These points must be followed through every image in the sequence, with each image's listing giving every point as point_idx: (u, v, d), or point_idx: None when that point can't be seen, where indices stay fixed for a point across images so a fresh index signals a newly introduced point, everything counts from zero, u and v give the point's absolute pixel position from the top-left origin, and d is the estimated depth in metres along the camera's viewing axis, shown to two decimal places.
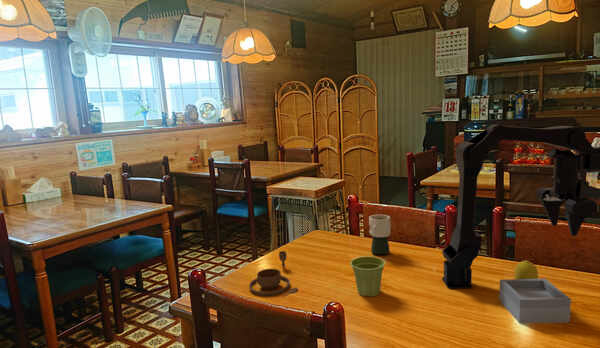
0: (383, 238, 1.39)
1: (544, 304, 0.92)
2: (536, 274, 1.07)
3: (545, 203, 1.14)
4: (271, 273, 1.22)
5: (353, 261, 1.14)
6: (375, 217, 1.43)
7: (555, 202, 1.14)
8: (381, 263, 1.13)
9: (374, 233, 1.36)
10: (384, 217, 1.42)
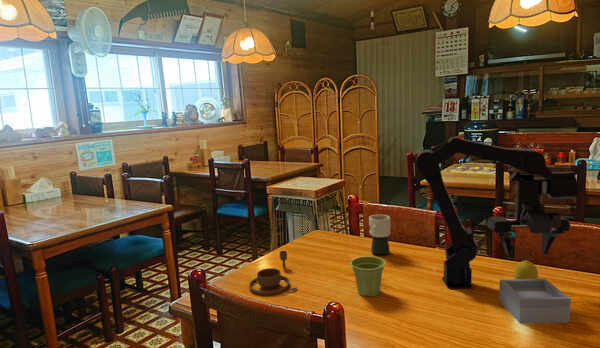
0: (383, 238, 1.39)
1: (544, 304, 0.92)
2: (536, 274, 1.07)
3: None
4: (271, 273, 1.23)
5: (353, 261, 1.14)
6: (375, 217, 1.43)
7: None
8: (381, 263, 1.13)
9: (374, 233, 1.36)
10: (384, 217, 1.42)
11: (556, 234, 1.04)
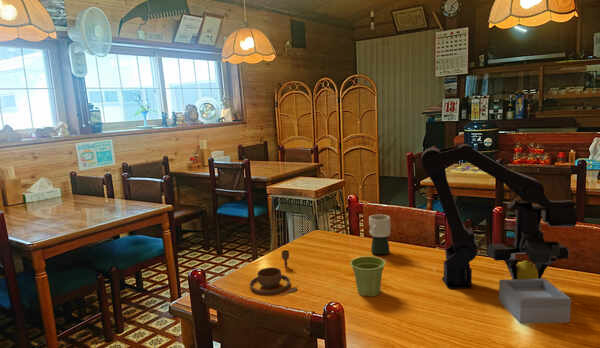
0: (383, 238, 1.39)
1: (544, 304, 0.92)
2: (536, 274, 1.07)
3: None
4: (272, 272, 1.23)
5: (353, 261, 1.14)
6: (375, 217, 1.43)
7: None
8: (381, 263, 1.13)
9: (374, 233, 1.36)
10: (384, 217, 1.42)
11: (548, 262, 1.05)
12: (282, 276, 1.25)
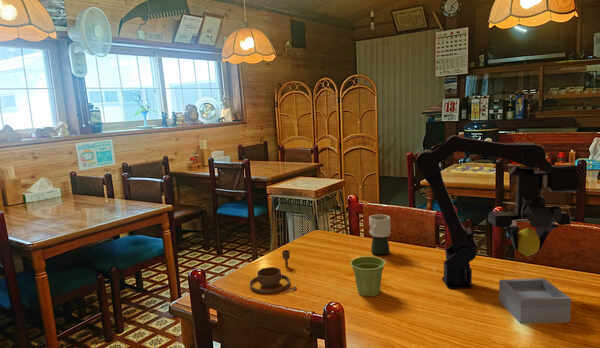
0: (383, 238, 1.39)
1: (545, 304, 0.92)
2: (538, 241, 1.05)
3: None
4: (272, 271, 1.24)
5: (353, 261, 1.14)
6: (375, 217, 1.43)
7: None
8: (381, 263, 1.13)
9: (374, 233, 1.36)
10: (384, 217, 1.42)
11: (550, 228, 1.04)
12: (282, 276, 1.25)
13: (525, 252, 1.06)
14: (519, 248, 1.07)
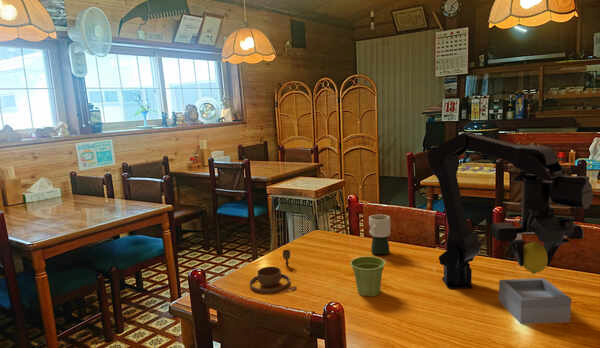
0: (383, 238, 1.39)
1: (545, 304, 0.92)
2: (545, 257, 0.94)
3: None
4: (272, 271, 1.24)
5: (353, 261, 1.14)
6: (375, 217, 1.43)
7: None
8: (381, 263, 1.13)
9: (374, 233, 1.36)
10: (384, 217, 1.42)
11: (560, 243, 0.93)
12: (282, 275, 1.25)
13: (531, 269, 0.95)
14: (524, 264, 0.96)
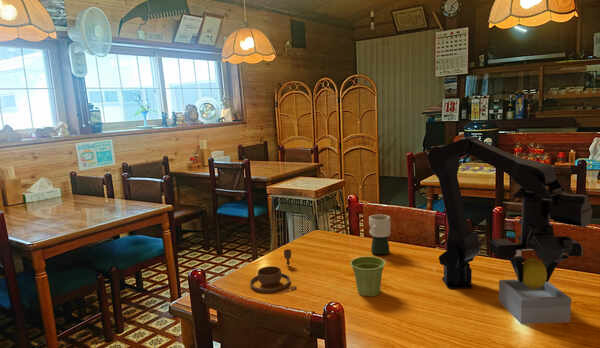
0: (383, 238, 1.39)
1: (545, 304, 0.92)
2: (545, 273, 0.94)
3: None
4: (272, 271, 1.24)
5: (353, 261, 1.14)
6: (375, 217, 1.43)
7: None
8: (381, 263, 1.13)
9: (374, 233, 1.36)
10: (384, 217, 1.42)
11: (559, 259, 0.93)
12: (283, 275, 1.26)
13: (531, 285, 0.95)
14: (524, 280, 0.96)
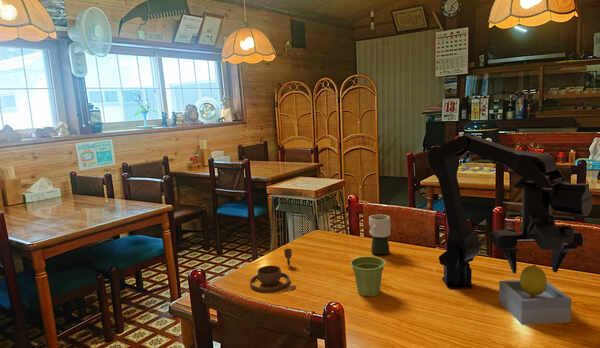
0: (383, 238, 1.39)
1: (545, 305, 0.92)
2: (544, 281, 0.95)
3: None
4: (272, 270, 1.25)
5: (353, 261, 1.14)
6: (375, 217, 1.43)
7: None
8: (381, 263, 1.13)
9: (374, 233, 1.36)
10: (384, 217, 1.42)
11: (568, 249, 0.92)
12: (283, 274, 1.26)
13: (530, 292, 0.96)
14: (523, 287, 0.97)
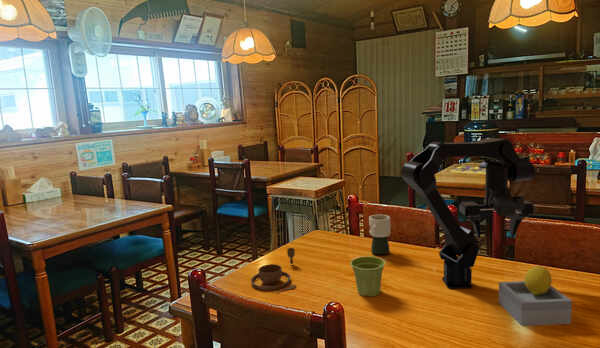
0: (383, 238, 1.39)
1: (546, 306, 0.91)
2: (549, 276, 0.96)
3: None
4: (274, 269, 1.25)
5: (353, 261, 1.14)
6: (375, 217, 1.43)
7: None
8: (381, 263, 1.13)
9: (374, 233, 1.36)
10: (384, 217, 1.42)
11: (522, 217, 1.12)
12: (284, 273, 1.27)
13: (532, 282, 0.96)
14: (527, 279, 0.98)
